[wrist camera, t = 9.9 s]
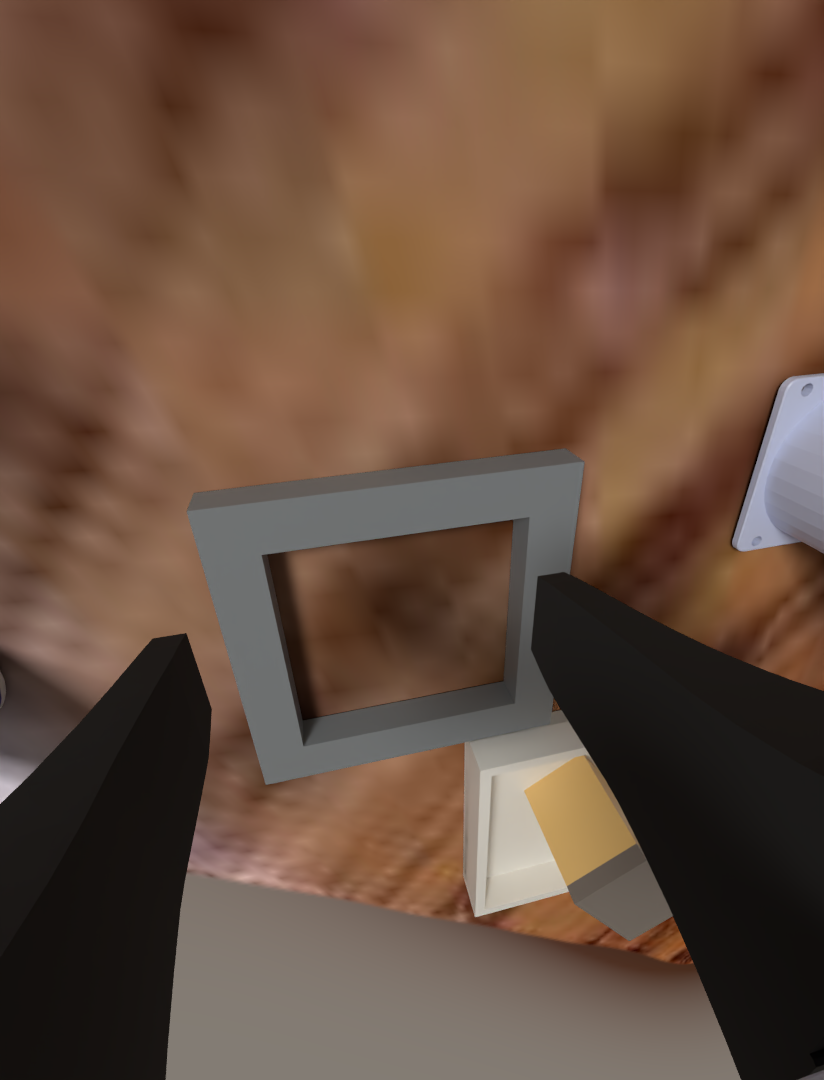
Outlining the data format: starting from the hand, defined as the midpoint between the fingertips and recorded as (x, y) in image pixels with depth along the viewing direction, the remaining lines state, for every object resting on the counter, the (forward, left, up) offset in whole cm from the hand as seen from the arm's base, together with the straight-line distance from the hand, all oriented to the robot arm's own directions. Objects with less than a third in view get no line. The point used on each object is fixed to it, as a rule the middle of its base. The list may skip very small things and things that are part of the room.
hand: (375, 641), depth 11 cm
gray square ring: (-2, +7, -9) cm, 12 cm away
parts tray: (-12, +22, -9) cm, 27 cm away
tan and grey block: (-12, +22, -9) cm, 26 cm away
